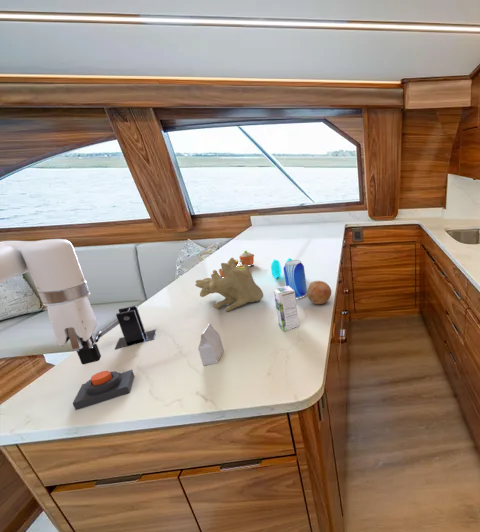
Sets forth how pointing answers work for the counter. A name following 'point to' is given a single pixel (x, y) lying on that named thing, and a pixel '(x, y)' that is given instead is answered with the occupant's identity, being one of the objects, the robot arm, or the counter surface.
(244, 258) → the toy tea set
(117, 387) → the control block
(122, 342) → the bracket
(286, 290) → the syrup box
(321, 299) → the coconut
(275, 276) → the cyan lobed shape
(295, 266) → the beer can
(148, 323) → the counter surface
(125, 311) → the lever
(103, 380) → the button
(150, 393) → the counter surface
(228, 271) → the decorative coral
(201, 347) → the pale grey crystal
